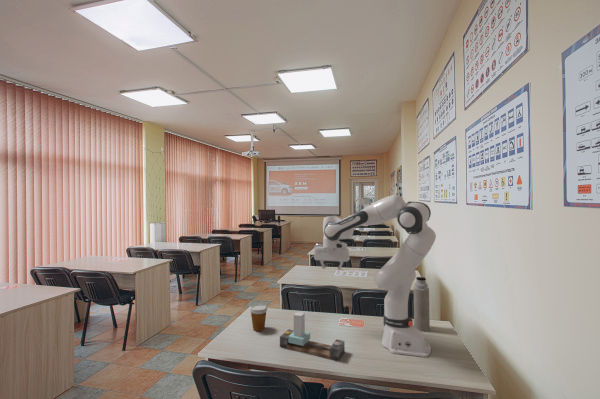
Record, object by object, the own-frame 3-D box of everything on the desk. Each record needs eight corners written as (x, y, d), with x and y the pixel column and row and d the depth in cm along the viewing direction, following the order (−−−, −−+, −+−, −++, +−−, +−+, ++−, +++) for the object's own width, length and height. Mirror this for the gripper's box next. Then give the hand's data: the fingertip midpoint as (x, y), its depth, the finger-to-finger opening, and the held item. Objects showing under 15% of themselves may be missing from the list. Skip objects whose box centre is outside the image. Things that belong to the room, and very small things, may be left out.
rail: (344, 351, 136) (344, 339, 136) (338, 361, 128) (338, 348, 128) (288, 338, 149) (288, 328, 149) (279, 346, 141) (279, 335, 141)
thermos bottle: (415, 324, 165) (414, 275, 166) (430, 327, 161) (429, 276, 162) (412, 329, 158) (412, 278, 159) (428, 332, 154) (427, 280, 155)
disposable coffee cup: (262, 333, 155) (262, 311, 156) (247, 331, 158) (246, 309, 159) (270, 326, 164) (269, 305, 165) (255, 324, 167) (255, 303, 168)
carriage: (310, 338, 143) (309, 312, 143) (303, 345, 136) (302, 318, 136) (295, 335, 147) (295, 309, 147) (288, 342, 139) (288, 315, 140)
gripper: (312, 244, 165) (312, 268, 164) (346, 245, 156) (347, 271, 155) (316, 243, 170) (316, 267, 169) (349, 244, 161) (350, 269, 160)
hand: (331, 268), depth 162 cm, fingers open, 8 cm apart
